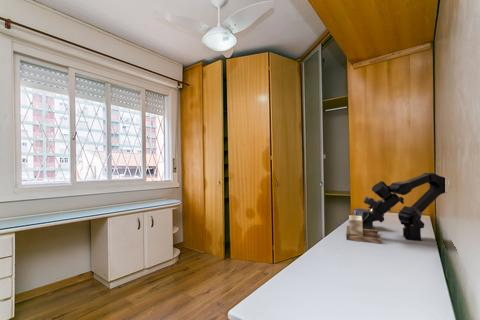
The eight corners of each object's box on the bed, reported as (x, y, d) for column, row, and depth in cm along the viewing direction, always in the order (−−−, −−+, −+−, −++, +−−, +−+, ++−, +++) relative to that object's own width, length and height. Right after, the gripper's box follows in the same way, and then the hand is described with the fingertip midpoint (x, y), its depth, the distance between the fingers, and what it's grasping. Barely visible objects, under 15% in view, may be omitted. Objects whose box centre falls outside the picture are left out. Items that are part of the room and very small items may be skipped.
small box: (374, 229, 131) (373, 211, 131) (362, 230, 131) (362, 212, 131) (363, 225, 142) (363, 208, 142) (353, 225, 142) (352, 208, 142)
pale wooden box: (362, 232, 125) (361, 215, 125) (363, 238, 115) (362, 220, 115) (349, 231, 127) (349, 215, 127) (349, 237, 117) (349, 219, 118)
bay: (377, 233, 124) (377, 228, 124) (381, 243, 109) (380, 237, 109) (347, 230, 130) (346, 225, 130) (346, 239, 116) (346, 233, 116)
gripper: (372, 189, 126) (350, 208, 131) (375, 193, 109) (350, 215, 114) (389, 204, 122) (366, 223, 127) (395, 211, 106) (369, 232, 110)
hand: (363, 223), depth 120 cm, fingers closed
